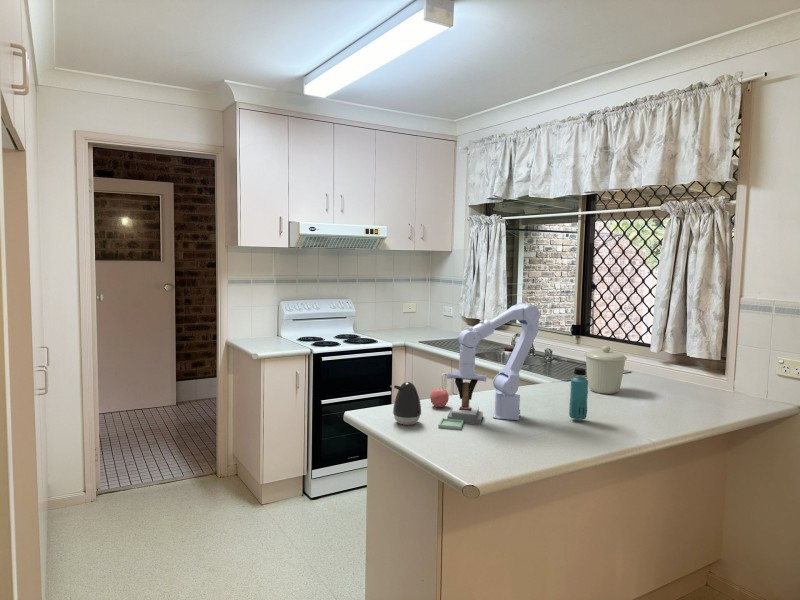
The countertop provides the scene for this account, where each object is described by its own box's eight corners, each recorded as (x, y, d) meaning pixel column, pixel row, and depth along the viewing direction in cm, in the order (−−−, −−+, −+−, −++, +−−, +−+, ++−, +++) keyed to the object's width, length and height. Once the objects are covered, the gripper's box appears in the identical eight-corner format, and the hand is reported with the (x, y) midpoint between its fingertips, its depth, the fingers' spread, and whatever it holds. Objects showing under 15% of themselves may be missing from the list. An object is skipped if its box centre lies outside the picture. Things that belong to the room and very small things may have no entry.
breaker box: (482, 416, 213) (482, 406, 212) (480, 424, 203) (480, 414, 203) (451, 413, 216) (451, 403, 215) (447, 421, 206) (447, 411, 206)
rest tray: (463, 423, 205) (463, 420, 204) (460, 430, 197) (460, 426, 197) (441, 421, 206) (441, 418, 206) (438, 427, 199) (438, 424, 198)
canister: (628, 390, 258) (631, 345, 256) (620, 398, 243) (623, 351, 241) (588, 384, 268) (590, 340, 266) (578, 392, 253) (580, 346, 251)
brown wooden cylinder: (470, 406, 209) (471, 383, 208) (465, 408, 207) (466, 384, 206) (464, 405, 211) (465, 381, 210) (460, 406, 209) (460, 383, 208)
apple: (447, 410, 220) (447, 390, 220) (428, 408, 222) (429, 389, 221) (449, 405, 228) (450, 385, 227) (431, 403, 229) (432, 384, 228)
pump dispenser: (388, 420, 206) (388, 379, 204) (413, 417, 210) (414, 377, 209) (398, 428, 197) (399, 386, 195) (425, 425, 201) (426, 384, 199)
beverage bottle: (577, 424, 206) (580, 371, 204) (564, 419, 212) (567, 367, 210) (590, 422, 209) (593, 369, 207) (577, 417, 215) (580, 366, 213)
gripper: (487, 362, 209) (486, 397, 211) (449, 359, 213) (448, 394, 214) (486, 365, 203) (484, 402, 204) (446, 363, 206) (445, 399, 207)
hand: (465, 398), depth 209 cm, fingers closed on brown wooden cylinder, 3 cm apart
